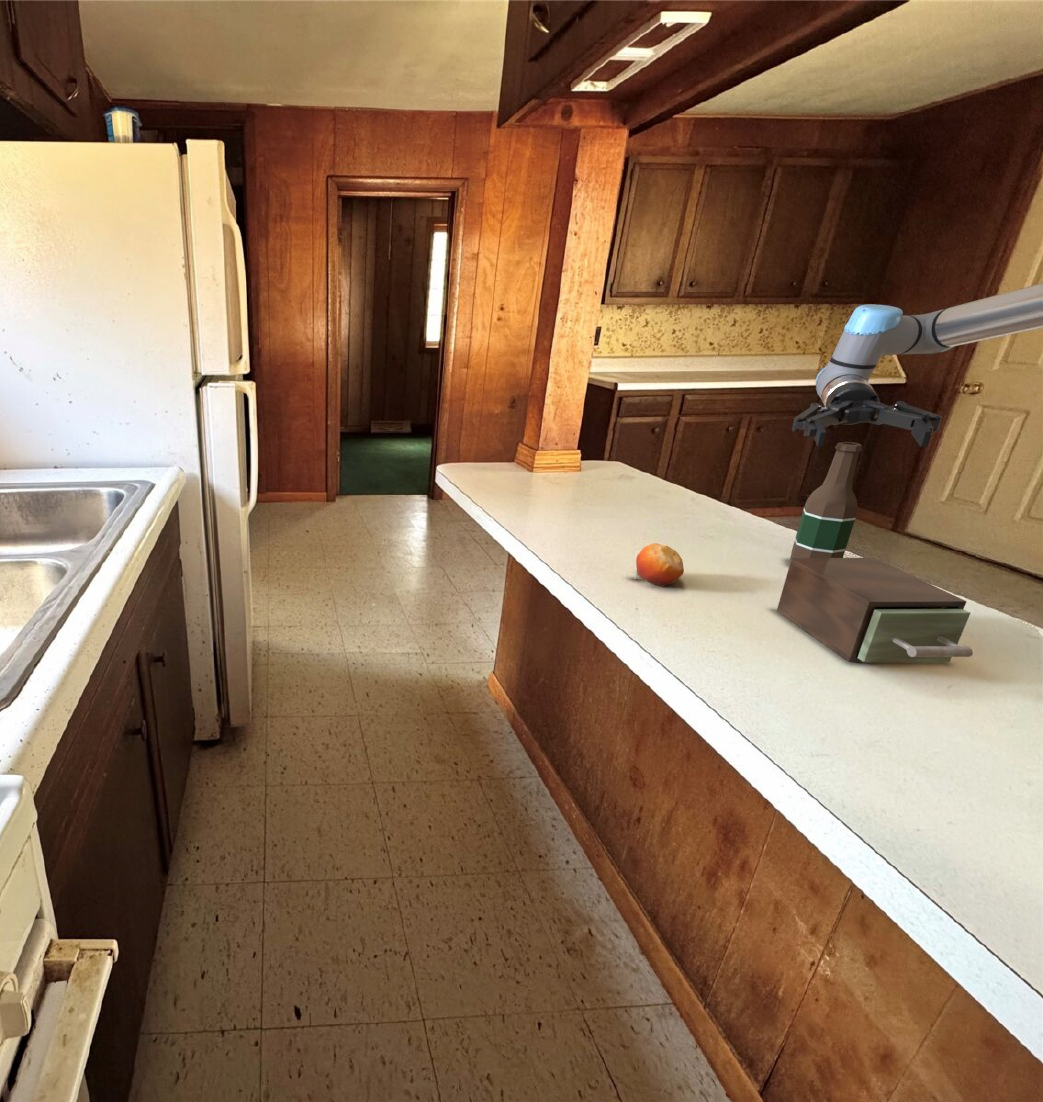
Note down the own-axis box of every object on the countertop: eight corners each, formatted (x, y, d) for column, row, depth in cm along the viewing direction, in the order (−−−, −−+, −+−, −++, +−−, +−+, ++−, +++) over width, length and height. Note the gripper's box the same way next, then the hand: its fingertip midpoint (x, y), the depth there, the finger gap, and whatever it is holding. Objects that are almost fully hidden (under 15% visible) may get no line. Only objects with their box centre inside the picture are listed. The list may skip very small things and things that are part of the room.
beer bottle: (802, 574, 114) (839, 448, 105) (779, 558, 121) (812, 438, 112) (848, 575, 112) (890, 448, 104) (823, 559, 120) (860, 438, 111)
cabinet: (941, 661, 86) (967, 601, 82) (848, 661, 87) (869, 602, 83) (855, 610, 100) (873, 557, 97) (776, 611, 101) (791, 558, 97)
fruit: (632, 559, 119) (661, 531, 114) (666, 588, 116) (698, 560, 111) (616, 572, 114) (646, 543, 109) (651, 602, 111) (684, 574, 106)
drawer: (979, 679, 80) (1002, 628, 77) (888, 679, 81) (908, 628, 78) (866, 613, 97) (882, 569, 94) (792, 613, 98) (805, 570, 95)
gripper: (930, 417, 115) (966, 460, 100) (768, 419, 128) (777, 458, 112) (942, 378, 112) (982, 417, 96) (774, 384, 124) (785, 419, 109)
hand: (872, 439), depth 104 cm, fingers open, 13 cm apart
